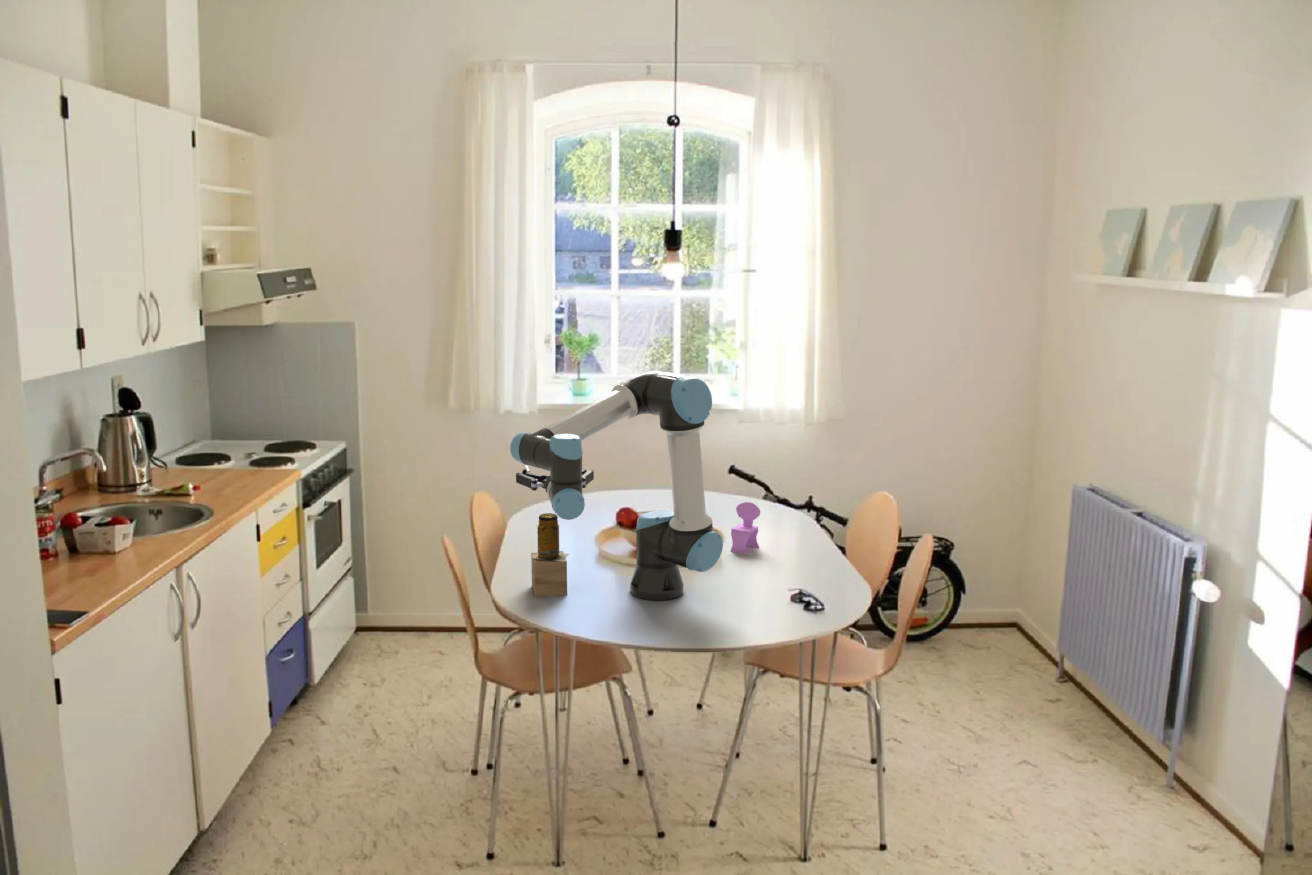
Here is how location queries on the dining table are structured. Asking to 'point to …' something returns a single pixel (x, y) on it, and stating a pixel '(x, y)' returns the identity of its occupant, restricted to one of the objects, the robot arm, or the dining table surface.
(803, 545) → the dining table surface
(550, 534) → the condiment
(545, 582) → the block
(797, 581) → the dining table surface
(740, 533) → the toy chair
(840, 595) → the dining table surface
